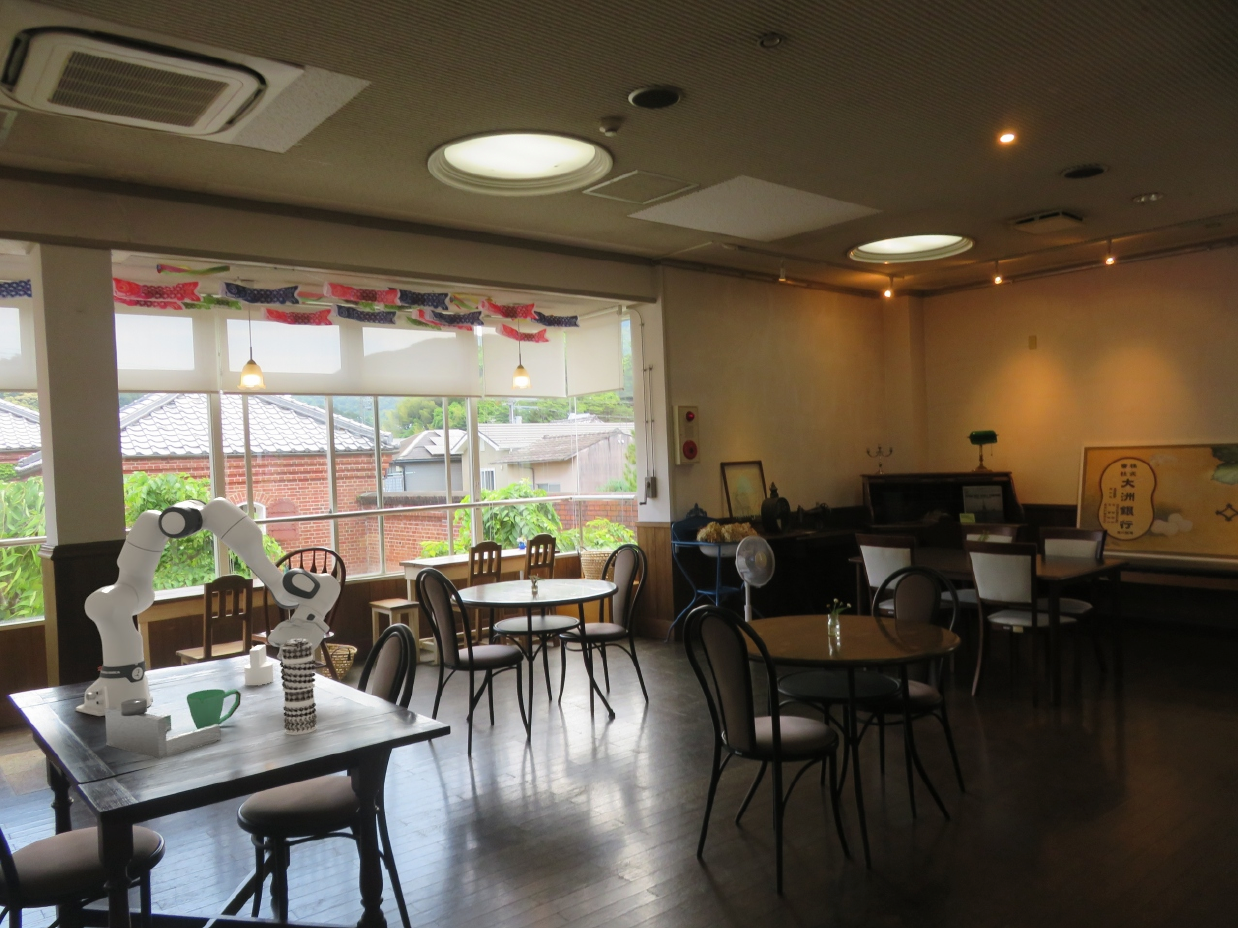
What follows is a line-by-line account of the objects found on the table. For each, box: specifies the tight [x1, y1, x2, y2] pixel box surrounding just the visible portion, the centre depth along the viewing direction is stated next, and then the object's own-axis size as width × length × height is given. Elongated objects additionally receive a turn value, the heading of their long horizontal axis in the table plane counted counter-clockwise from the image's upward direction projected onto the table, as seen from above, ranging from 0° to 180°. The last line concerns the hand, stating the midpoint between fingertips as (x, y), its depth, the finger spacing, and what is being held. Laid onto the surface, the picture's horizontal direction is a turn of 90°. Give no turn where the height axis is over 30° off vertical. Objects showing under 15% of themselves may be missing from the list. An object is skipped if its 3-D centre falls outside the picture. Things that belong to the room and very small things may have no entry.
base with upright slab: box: [243, 644, 274, 686], centre depth 309 cm, size 9×9×12 cm
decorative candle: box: [279, 638, 318, 736], centre depth 250 cm, size 9×9×25 cm
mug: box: [186, 688, 242, 730], centre depth 257 cm, size 15×10×10 cm
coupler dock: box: [104, 698, 221, 760], centre depth 243 cm, size 19×25×13 cm
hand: (281, 658), depth 275 cm, fingers closed
